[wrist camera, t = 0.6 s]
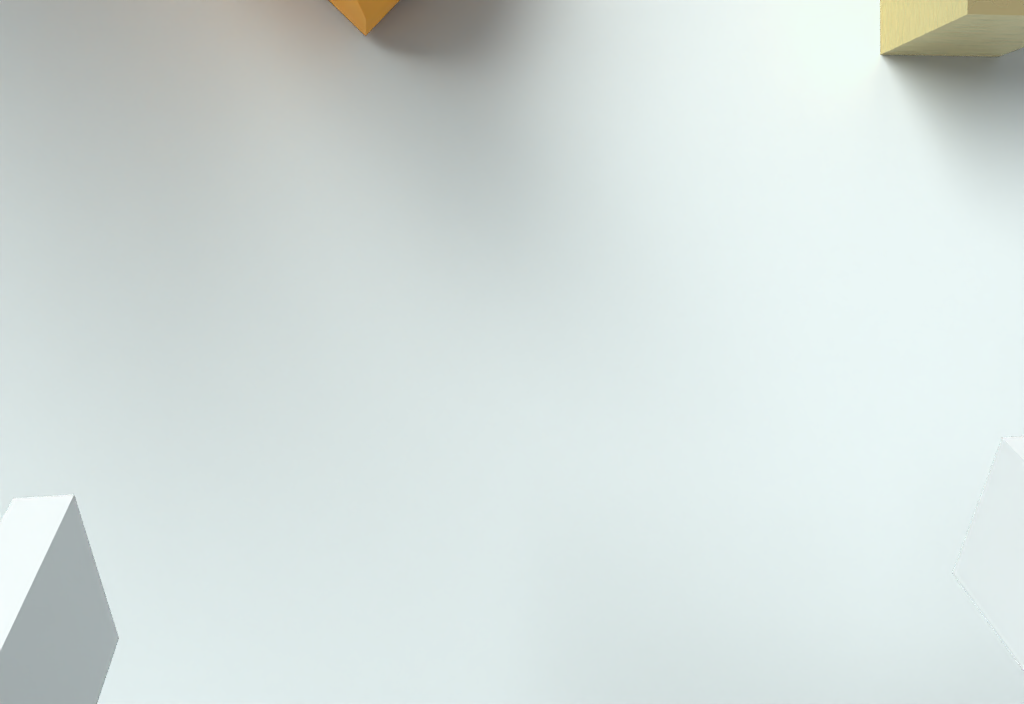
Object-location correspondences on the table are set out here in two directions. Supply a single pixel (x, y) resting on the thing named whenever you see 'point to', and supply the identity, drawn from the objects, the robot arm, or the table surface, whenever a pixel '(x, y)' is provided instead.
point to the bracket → (364, 12)
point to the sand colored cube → (951, 27)
